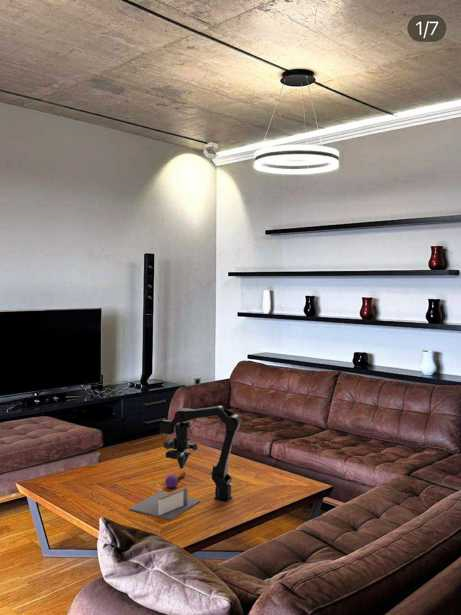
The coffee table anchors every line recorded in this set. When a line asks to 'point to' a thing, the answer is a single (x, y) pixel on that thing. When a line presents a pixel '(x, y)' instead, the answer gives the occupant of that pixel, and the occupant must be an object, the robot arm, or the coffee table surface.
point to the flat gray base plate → (152, 506)
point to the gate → (170, 501)
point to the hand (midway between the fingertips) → (181, 468)
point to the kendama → (174, 479)
